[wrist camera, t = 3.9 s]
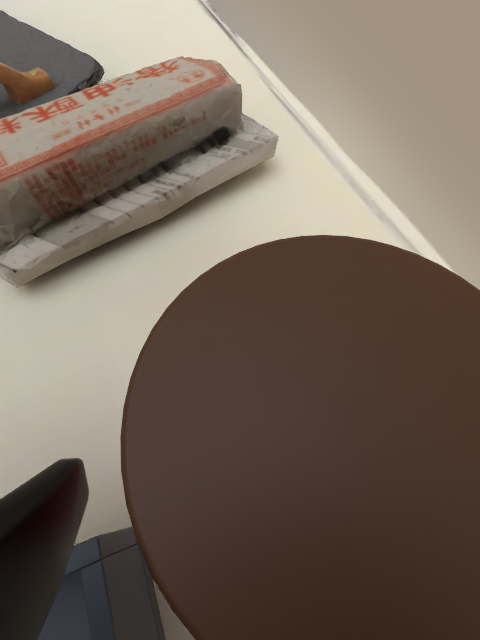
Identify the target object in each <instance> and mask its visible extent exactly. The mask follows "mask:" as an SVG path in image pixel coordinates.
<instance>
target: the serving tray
mask: <svg viewBox="0 0 480 640" xmlns="http://www.w3.org/2000/svg"><path fill="white" fill-rule="evenodd" d="M103 75H104V70H103V67H102V66H101V65H100V64H99V63H98V62H97V61H96V60H95V59H94V58H92V57H91V56H89V55H88V54H86V53H83V52H81V51H79V50H77V49H75V48H73V47H71V46H70V45H69V44H66V43H64V42H62V41H60V40H57V39H55V38H53V37H52V36H50V35H48V34H46V33H44V32H42V31H40V30H38V29H36V28H34V27H32V26H30V25H28V24H26V23H23V22H20V21H18V20H17V19H15V18H13V17H11V16H9V15H8V14H6V13H5V12H3V11H1V10H0V119H2V118H5V117H8V116H11V115H14V114H18V113H20V112H23V111H25V110H27V109H30V108H33V107H36V106H39V105H42V104H45V103H48V102H51V101H54V100H56V99H58V98H61V97H64V96H68V95H71V94H74V93H77V92H80V91H82V90H84V89H86V88H91V87H93V86H95V85H97V83H98V82H99V81H100V80H101V78H102V76H103Z"/></svg>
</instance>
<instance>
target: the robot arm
mask: <svg viewBox="0 0 480 640" xmlns="http://www.w3.org/2000/svg"><path fill="white" fill-rule="evenodd" d="M88 496H89V489H88V484H87V478H86V473H85V468H84V464H83V461H82V460H81V459H79V458H70V459H61V460H58V461H57V462H55V463H54V464H52V465H51V466H49V467H48V468H46V469H45V470H43V471H42V472H40V473H39V474H37V475H36V476H34V477H33V478H31V479H30V480H29V481H27V482H26V483H24V484H23V485H21V486H20V487H18V488H17V489H15V490H14V491H12V492H11V493H9V494H8V495H6V496H5V497H3V498H2V499H0V640H38V638H39V635H40V633H41V631H42V628H43V626H44V623H45V621H46V619H47V616H48V614H49V612H50V609H51V607H52V604H53V602H54V600H55V597H56V595H57V592H58V590H59V587H60V585H61V582H62V579H63V577H64V574H65V571H66V568H67V565H68V561H69V558H70V555H71V552H72V549H73V546H74V543H75V539H76V536H77V533H78V530H79V527H80V524H81V520H82V517H83V514H84V511H85V508H86V505H87V501H88Z"/></svg>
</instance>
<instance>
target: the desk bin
mask: <svg viewBox="0 0 480 640" xmlns="http://www.w3.org/2000/svg"><path fill="white" fill-rule="evenodd" d="M38 640H165V635H164V631H163V627H162V622H161V618H160V613H159V609H158V605H157V600H156V596H155V591H154V587H153V583H152V578H151V574H150V570H149V568H148V565H147V563H146V561H145V559H144V556H143V554H142V552H141V549H140V547H139V545H138V542H137V540H136V536H135V533H134V529H133V527H131V528H127V529H123V530H119V531H115V532H111V533H107V534H103V535H99V536H95V537H93V538H91V539H89V540H86V541H84V542H82V543H80V544H77V545H75V546H73V549H72V552H71V555H70V558H69V561H68V565H67V568H66V571H65V574H64V577H63V579H62V582H61V585H60V587H59V590H58V592H57V595H56V597H55V600H54V602H53V604H52V607H51V609H50V612H49V614H48V616H47V619H46V621H45V623H44V626H43V628H42V631H41V633H40V635H39V638H38Z"/></svg>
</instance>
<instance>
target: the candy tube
mask: <svg viewBox="0 0 480 640" xmlns="http://www.w3.org/2000/svg"><path fill="white" fill-rule="evenodd" d="M120 439H121V472H122V479H123V485H124V492H125V498H126V505H127V508H128V512H129V515H130V519H131V522H132V526H133V529H134V533H135V536H136V540H137V542H138V545H139V547H140V549H141V552H142V554H143V556H144V559H145V561H146V563H147V565H148V568H149V570H150V572H151V575H152V577H153V579H154V580H155V582H156V584H157V585H158V587H159V589H160V590H161V592H162V594H163V595H164V597H165V599H166V600H167V602H168V604H169V605H170V607H171V609H172V610H173V612H174V613H175V614H176V616H177V617H178V618H179V619H180V621H181V622H182V623H183V624H184V626H185V627H186V628H187V629H188V631H189V632H190V633H191V634H192V636H193V637H194V638H195V639H196V640H480V290H479V289H477V288H476V287H474V286H473V285H472V284H470V283H468V282H467V281H466V280H464V279H463V278H462V277H460V276H458V275H456V274H455V273H453V272H451V271H449V270H448V269H446V268H444V267H443V266H441V265H439V264H437V263H435V262H433V261H430V260H428V259H426V258H424V257H422V256H420V255H417V254H415V253H412V252H409V251H407V250H404V249H401V248H398V247H395V246H392V245H388V244H384V243H380V242H376V241H372V240H367V239H361V238H354V237H348V236H331V235H316V236H300V237H293V238H286V239H280V240H276V241H272V242H268V243H265V244H261V245H258V246H255V247H252V248H250V249H247V250H244V251H242V252H239V253H237V254H235V255H233V256H231V257H229V258H227V259H226V260H224V261H222V262H220V263H218V264H217V265H215V266H214V267H212V268H211V269H209V270H208V271H206V272H205V273H203V274H202V275H200V276H199V277H198V278H197V279H196V280H194V281H193V282H192V283H191V284H190V285H189V286H188V287H186V288H185V289H184V290H183V291H182V292H181V293H180V294H179V295H178V296H177V298H176V299H175V300H174V301H173V302H172V303H171V304H170V305H169V306H168V308H167V309H166V310H165V312H164V313H163V314H162V316H161V317H160V319H159V320H158V322H157V323H156V325H155V326H154V327H153V329H152V331H151V333H150V335H149V336H148V338H147V340H146V342H145V344H144V346H143V348H142V350H141V352H140V354H139V357H138V359H137V362H136V365H135V367H134V370H133V373H132V376H131V378H130V382H129V386H128V391H127V395H126V399H125V403H124V408H123V418H122V428H121V438H120Z"/></svg>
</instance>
